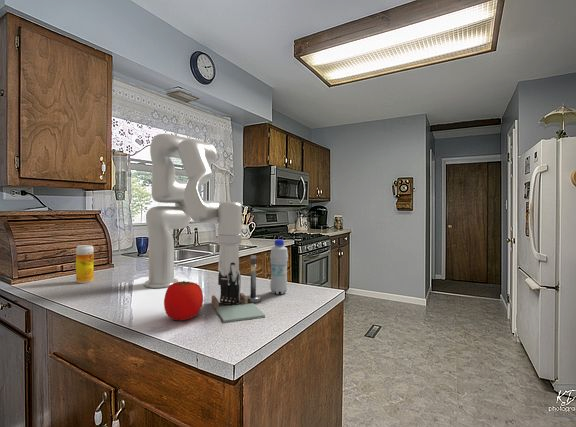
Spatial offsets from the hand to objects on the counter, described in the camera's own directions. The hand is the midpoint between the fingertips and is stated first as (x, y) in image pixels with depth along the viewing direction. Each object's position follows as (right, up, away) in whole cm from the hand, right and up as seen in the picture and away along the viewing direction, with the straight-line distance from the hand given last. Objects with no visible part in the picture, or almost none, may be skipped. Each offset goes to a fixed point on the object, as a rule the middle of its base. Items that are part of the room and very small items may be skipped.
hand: (228, 293), depth 103 cm
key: (+8, -2, 0) cm, 8 cm away
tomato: (-10, -4, -13) cm, 17 cm away
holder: (0, -3, 0) cm, 3 cm away
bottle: (+16, -4, +14) cm, 22 cm away
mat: (+5, -4, -8) cm, 11 cm away
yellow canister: (-64, -2, +27) cm, 70 cm away
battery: (0, -3, 0) cm, 3 cm away
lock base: (+8, -3, +3) cm, 9 cm away
